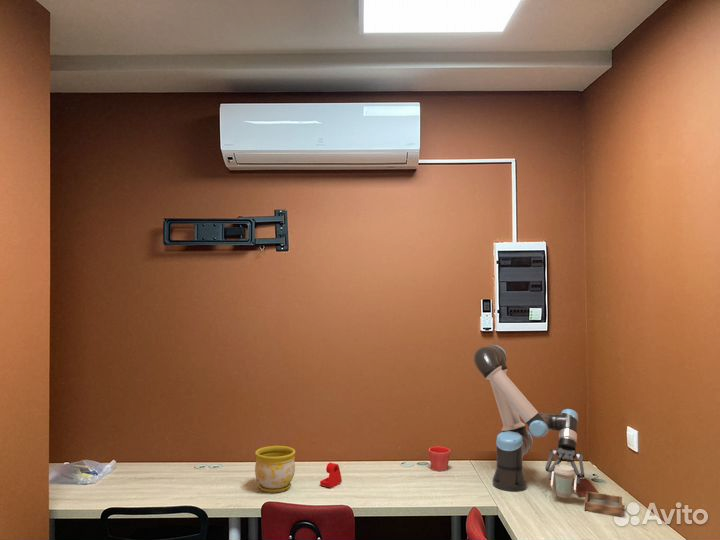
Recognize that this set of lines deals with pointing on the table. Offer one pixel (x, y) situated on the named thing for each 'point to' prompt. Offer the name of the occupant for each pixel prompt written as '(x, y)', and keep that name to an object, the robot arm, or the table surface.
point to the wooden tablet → (584, 487)
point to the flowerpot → (274, 468)
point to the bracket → (332, 476)
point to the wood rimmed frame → (603, 504)
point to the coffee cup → (564, 480)
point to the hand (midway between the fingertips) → (563, 489)
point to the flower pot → (439, 458)
